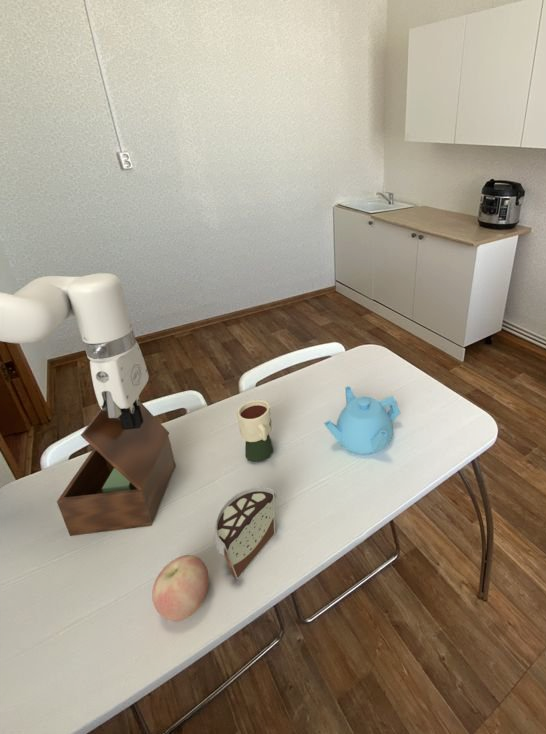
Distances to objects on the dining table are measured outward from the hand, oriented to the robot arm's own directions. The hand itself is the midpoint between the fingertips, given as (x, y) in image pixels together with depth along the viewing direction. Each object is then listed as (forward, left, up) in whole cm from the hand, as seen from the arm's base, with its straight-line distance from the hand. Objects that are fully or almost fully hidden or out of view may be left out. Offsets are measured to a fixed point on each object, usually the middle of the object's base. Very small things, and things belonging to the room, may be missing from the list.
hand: (133, 425), depth 74 cm
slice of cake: (+21, -14, -18) cm, 31 cm away
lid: (-1, 0, -2) cm, 2 cm away
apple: (+13, -22, -18) cm, 31 cm away
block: (-5, 0, -17) cm, 18 cm away
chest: (-5, 0, -18) cm, 19 cm away
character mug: (+21, +8, -18) cm, 29 cm away
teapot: (+46, +10, -18) cm, 51 cm away
